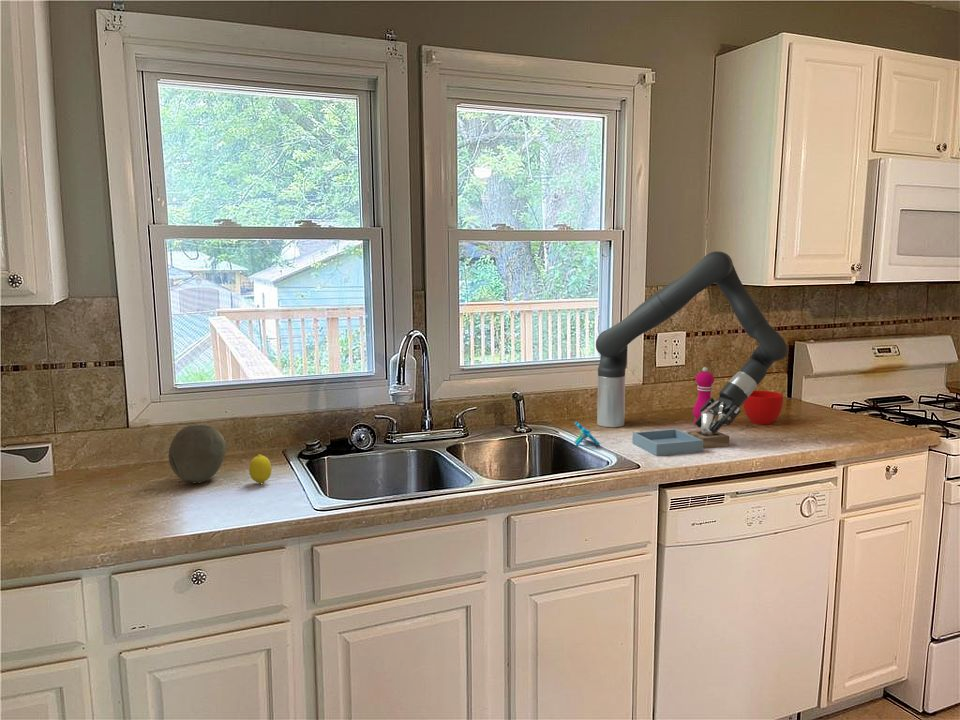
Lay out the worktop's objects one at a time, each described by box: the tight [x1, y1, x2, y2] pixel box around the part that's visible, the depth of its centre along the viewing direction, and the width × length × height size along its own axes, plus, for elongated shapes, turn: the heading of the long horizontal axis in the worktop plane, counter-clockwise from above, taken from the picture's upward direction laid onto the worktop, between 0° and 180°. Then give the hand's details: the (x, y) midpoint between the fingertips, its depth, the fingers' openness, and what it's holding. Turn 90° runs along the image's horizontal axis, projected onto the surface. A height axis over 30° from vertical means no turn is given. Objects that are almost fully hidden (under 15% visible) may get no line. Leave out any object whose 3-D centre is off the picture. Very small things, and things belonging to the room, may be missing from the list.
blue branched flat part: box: [574, 421, 600, 446], centre depth 219 cm, size 11×6×10 cm
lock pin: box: [700, 412, 716, 436], centre depth 219 cm, size 4×4×10 cm
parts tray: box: [631, 428, 704, 457], centre depth 215 cm, size 15×15×4 cm
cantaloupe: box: [168, 424, 227, 484], centre depth 188 cm, size 14×14×15 cm
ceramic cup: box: [742, 390, 784, 426], centre depth 246 cm, size 13×17×10 cm
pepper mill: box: [692, 366, 715, 425], centre depth 242 cm, size 7×7×20 cm
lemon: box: [248, 454, 272, 484], centre depth 185 cm, size 6×6×8 cm
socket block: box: [686, 430, 730, 449], centre depth 219 cm, size 9×9×3 cm
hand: (704, 428), depth 218 cm, fingers open, 7 cm apart
